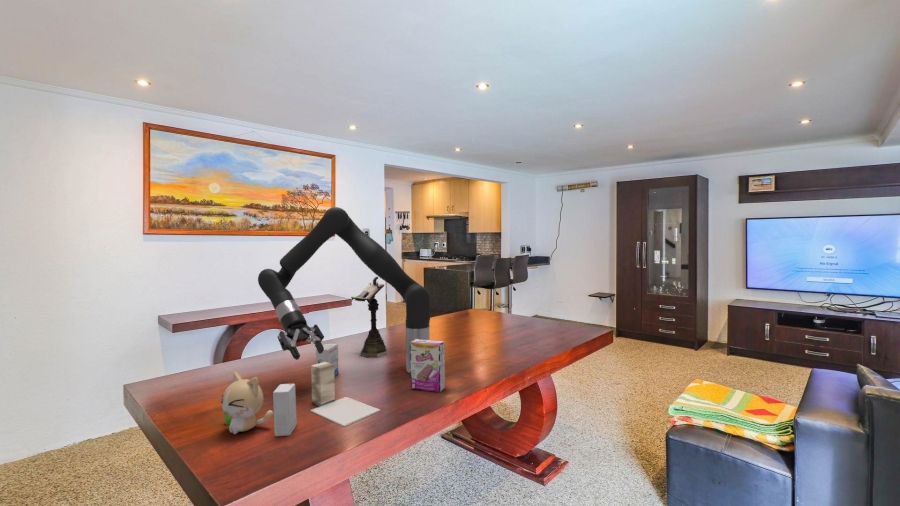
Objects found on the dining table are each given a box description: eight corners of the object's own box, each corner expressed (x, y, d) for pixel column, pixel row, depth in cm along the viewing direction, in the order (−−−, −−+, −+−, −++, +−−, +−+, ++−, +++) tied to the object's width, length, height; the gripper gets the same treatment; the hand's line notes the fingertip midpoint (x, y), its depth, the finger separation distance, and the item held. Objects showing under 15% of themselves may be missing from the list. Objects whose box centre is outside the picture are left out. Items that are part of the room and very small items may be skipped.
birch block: (312, 402, 131) (311, 365, 130) (325, 397, 135) (324, 361, 134) (321, 406, 128) (320, 368, 127) (335, 401, 132) (334, 364, 131)
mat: (310, 411, 124) (310, 410, 124) (346, 398, 134) (346, 396, 134) (344, 426, 114) (344, 425, 114) (380, 411, 124) (380, 409, 124)
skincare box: (281, 426, 115) (279, 383, 114) (296, 425, 115) (295, 383, 115) (273, 436, 109) (272, 392, 108) (290, 435, 109) (289, 391, 109)
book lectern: (364, 362, 172) (362, 278, 170) (346, 356, 180) (344, 277, 179) (395, 353, 184) (393, 275, 183) (376, 348, 193) (375, 274, 191)
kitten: (209, 429, 113) (207, 376, 113) (243, 416, 122) (242, 365, 121) (241, 443, 106) (239, 385, 105) (275, 427, 114) (274, 374, 113)
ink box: (327, 373, 159) (326, 343, 159) (339, 373, 158) (338, 343, 158) (315, 380, 151) (314, 349, 150) (328, 381, 150) (327, 349, 149)
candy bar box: (410, 389, 141) (409, 342, 140) (415, 384, 146) (415, 338, 145) (440, 393, 137) (440, 344, 137) (445, 387, 142) (445, 340, 142)
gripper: (274, 312, 135) (294, 353, 128) (313, 306, 146) (333, 343, 139) (266, 326, 138) (285, 367, 131) (305, 319, 149) (324, 356, 142)
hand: (310, 355), depth 135 cm, fingers open, 8 cm apart
